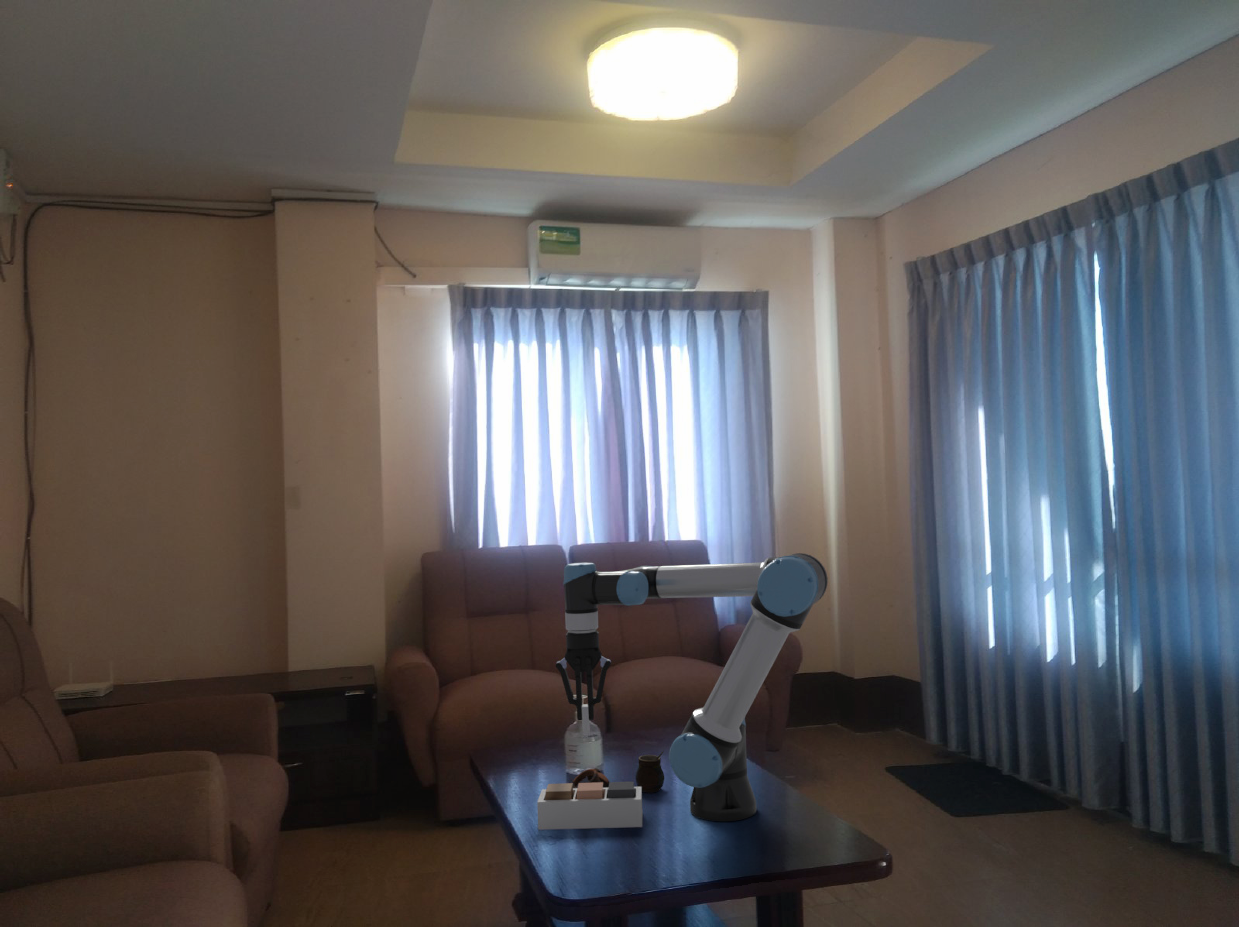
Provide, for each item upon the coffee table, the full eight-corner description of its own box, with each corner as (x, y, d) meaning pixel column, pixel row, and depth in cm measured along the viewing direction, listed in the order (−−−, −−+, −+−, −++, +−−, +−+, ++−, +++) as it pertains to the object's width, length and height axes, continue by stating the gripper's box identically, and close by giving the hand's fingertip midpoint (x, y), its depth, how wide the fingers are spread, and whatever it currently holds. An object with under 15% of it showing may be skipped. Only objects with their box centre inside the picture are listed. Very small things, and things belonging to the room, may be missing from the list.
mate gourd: (640, 784, 231) (639, 744, 231) (669, 787, 228) (668, 746, 229) (631, 793, 224) (630, 752, 224) (661, 796, 222) (660, 754, 222)
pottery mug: (617, 807, 216) (599, 779, 214) (582, 824, 217) (565, 797, 216) (618, 779, 228) (601, 753, 226) (585, 795, 229) (568, 769, 227)
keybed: (642, 812, 210) (641, 786, 210) (642, 826, 201) (641, 799, 201) (542, 815, 210) (542, 789, 211) (538, 829, 201) (537, 802, 202)
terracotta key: (604, 804, 208) (603, 782, 209) (602, 812, 203) (601, 790, 203) (579, 805, 209) (578, 783, 209) (577, 813, 203) (576, 790, 203)
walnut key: (573, 805, 209) (572, 783, 209) (571, 813, 203) (570, 791, 203) (549, 806, 209) (548, 783, 209) (546, 814, 203) (545, 791, 203)
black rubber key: (634, 803, 208) (633, 781, 208) (634, 812, 203) (633, 789, 203) (610, 804, 208) (609, 782, 209) (609, 812, 203) (608, 789, 203)
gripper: (610, 627, 213) (614, 729, 212) (555, 629, 213) (559, 731, 212) (610, 631, 206) (614, 737, 205) (552, 634, 206) (556, 739, 205)
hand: (586, 734), depth 209 cm, fingers closed
